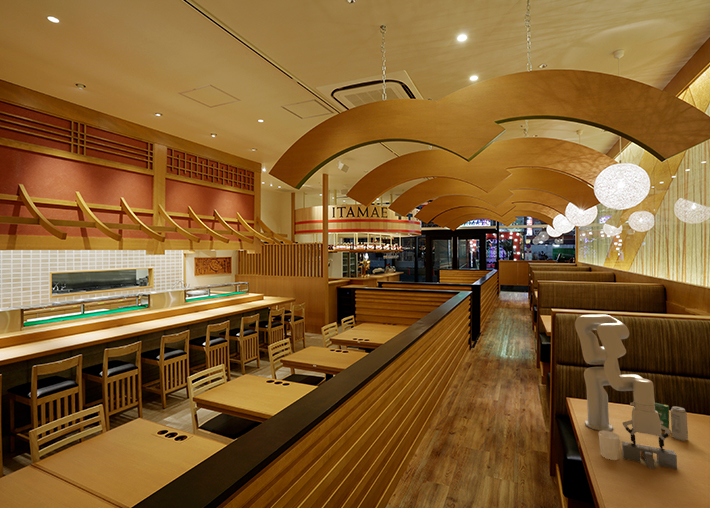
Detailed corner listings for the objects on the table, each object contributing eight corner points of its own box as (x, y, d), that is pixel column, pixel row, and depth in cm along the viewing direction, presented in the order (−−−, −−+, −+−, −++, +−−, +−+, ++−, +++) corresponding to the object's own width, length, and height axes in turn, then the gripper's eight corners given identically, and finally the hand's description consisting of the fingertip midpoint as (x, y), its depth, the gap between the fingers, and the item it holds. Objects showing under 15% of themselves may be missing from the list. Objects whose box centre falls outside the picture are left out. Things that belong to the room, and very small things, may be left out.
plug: (639, 451, 168) (638, 443, 168) (651, 454, 166) (650, 445, 166) (645, 467, 155) (644, 457, 155) (658, 470, 153) (657, 460, 153)
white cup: (616, 453, 167) (615, 431, 167) (623, 462, 159) (622, 439, 160) (597, 451, 169) (596, 429, 170) (602, 459, 162) (601, 437, 162)
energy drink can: (691, 441, 176) (689, 411, 176) (677, 441, 177) (675, 410, 177) (682, 436, 182) (681, 406, 182) (669, 435, 183) (667, 405, 183)
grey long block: (622, 454, 166) (621, 441, 166) (674, 464, 157) (673, 450, 157) (623, 458, 162) (623, 445, 162) (677, 469, 153) (676, 455, 153)
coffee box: (670, 430, 188) (669, 405, 189) (669, 432, 186) (668, 406, 187) (650, 425, 194) (649, 401, 194) (649, 427, 192) (648, 402, 192)
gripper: (622, 406, 165) (625, 444, 164) (671, 412, 157) (674, 453, 156) (620, 401, 172) (622, 438, 171) (666, 407, 163) (669, 445, 162)
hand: (647, 445), depth 163 cm, fingers open, 9 cm apart
